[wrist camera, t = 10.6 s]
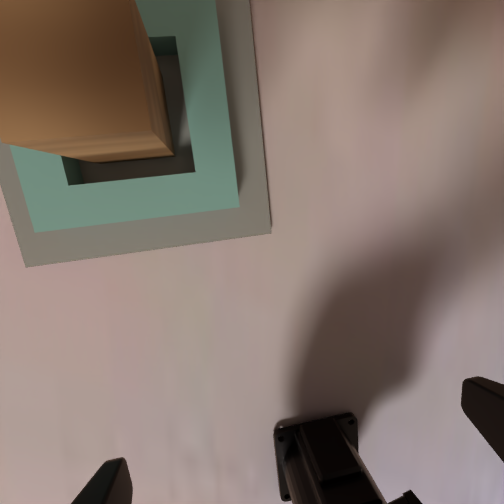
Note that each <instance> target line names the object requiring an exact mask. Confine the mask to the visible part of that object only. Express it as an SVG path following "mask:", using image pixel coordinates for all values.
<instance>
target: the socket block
mask: <svg viewBox="0 0 504 504" xmlns="http://www.w3.org/2000/svg"><path fill="white" fill-rule="evenodd" d="M135 2H136V5H137V7H138V10H139V13H140V16H141V18H142V21H143V24H144V27H145V29H146V32H147V35H148V38H149V41H150V43H151V46H152V49H153V52H154V54H155V57H156V60H157V63H158V65H159V68H160V71H161V74H162V76H163V83H164V89H165V95H166V101H167V107H168V113H169V120H170V126H171V132H172V138H173V144H174V151H175V157H165V158H154V159H144V160H133V161H123V162H113V163H102V164H98V163H94V162H89V161H84V160H80V159H75V158H70V157H66V156H61V155H56V154H52V153H47V152H42V151H38V150H33V149H28V148H24V147H19V146H14V145H10V144H5V143H2V142H1V139H0V185H1V188H2V191H3V195H4V198H5V201H6V204H7V208H8V211H9V214H10V217H11V221H12V224H13V227H14V231H15V234H16V237H17V240H18V244H19V247H20V250H21V254H22V257H23V260H24V263H25V267H33V266H40V265H47V264H54V263H62V262H69V261H76V260H83V259H90V258H98V257H105V256H112V255H119V254H126V253H134V252H141V251H148V250H155V249H162V248H170V247H177V246H184V245H191V244H199V243H206V242H213V241H220V240H227V239H235V238H242V237H249V236H256V235H263V234H271V223H270V213H269V202H268V191H267V181H266V170H265V160H264V149H263V139H262V128H261V118H260V107H259V97H258V86H257V75H256V65H255V54H254V44H253V33H252V23H251V12H250V2H249V0H135Z"/></svg>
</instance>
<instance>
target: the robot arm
mask: <svg viewBox="0 0 504 504" xmlns="http://www.w3.org/2000/svg"><path fill="white" fill-rule="evenodd" d="M461 406H462V409H463V411H464V413H465V414H466V416H467V417H468V418H469V419H470V421H471V422H472V423H473V424H474V426H475V427H476V428H477V429H478V431H479V432H480V433H481V435H482V436H483V437H484V438H485V440H486V441H487V442H488V443H489V445H490V446H491V447H492V448H493V450H494V451H495V452H496V453H497V455H498V456H499V457H500V458H501V460H502V461H503V462H504V384H501V383H498V382H495V381H492V380H489V379H486V378H483V377H479V376H478V377H472V378H468V379H465V380H464V381H463V384H462V397H461ZM349 420H350V421H349ZM280 436H282V437H280ZM273 438H274V447H275V456H276V465H277V474H278V482H279V491H280V496H281V499H282V501H285V502H286V501H291V500H292V503H293V504H422V503H421V502H420V500H419V499H418V498H417V497H416V495H415V494H414V493H413V492H412V491H411V490H409V491H407V492H405V493H403V496H401V497H399V498H397V499H395V500H393V501H391V502H389V503H387V502H386V501H385V499H384V497H383V495H382V494H381V492H380V490H379V488H378V487H377V485H376V483H375V482H374V480H373V478H372V476H371V475H370V473H369V471H368V470H367V468H366V466H365V464H364V463H363V461H362V459H361V458H360V456H359V454H358V424H357V418H356V417H355V415H354V414H353V413H345V414H341V415H337V416H332V417H328V418H324V419H320V420H315V421H311V422H307V423H302V424H298V425H294V426H289V427H285V428H281V429H278V430H276V431H275V432H274V434H273ZM132 494H133V487H132V481H131V477H130V474H129V470H128V466H127V462H126V460H125V458H123V457H120V458H116V459H112V460H108V461H106V462H105V463H104V464H103V465H102V466H101V467H100V468H99V470H98V471H97V472H96V473H95V474H94V476H93V477H92V478H91V479H90V481H89V482H88V483H87V484H86V486H85V487H84V488H83V489H82V491H81V492H80V493H79V494H78V495H77V497H76V498H75V499H74V500H73V502H72V503H71V504H131V503H132Z"/></svg>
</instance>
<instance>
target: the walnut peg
mask: <svg viewBox="0 0 504 504" xmlns="http://www.w3.org/2000/svg"><path fill="white" fill-rule="evenodd" d="M0 139H1V142H2V143H5V144H10V145H14V146H19V147H24V148H28V149H33V150H38V151H42V152H47V153H52V154H56V155H61V156H66V157H70V158H75V159H80V160H84V161H89V162H94V163H98V164H102V163H113V162H123V161H133V160H144V159H154V158H165V157H175V151H174V144H173V138H172V132H171V126H170V120H169V113H168V107H167V101H166V95H165V89H164V83H163V76H162V74H161V71H160V68H159V65H158V63H157V60H156V57H155V54H154V52H153V49H152V46H151V43H150V41H149V38H148V35H147V32H146V29H145V27H144V24H143V21H142V18H141V16H140V13H139V10H138V7H137V5H136V2H135V0H0Z"/></svg>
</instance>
